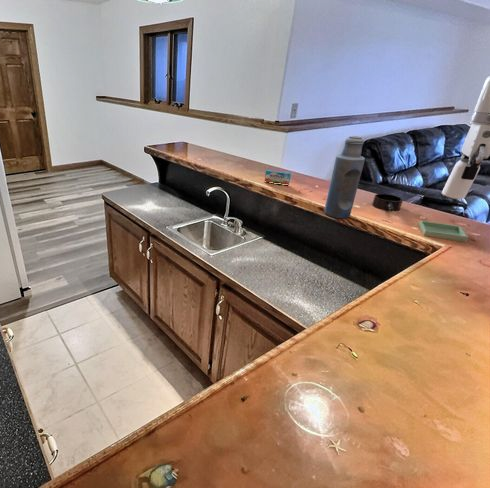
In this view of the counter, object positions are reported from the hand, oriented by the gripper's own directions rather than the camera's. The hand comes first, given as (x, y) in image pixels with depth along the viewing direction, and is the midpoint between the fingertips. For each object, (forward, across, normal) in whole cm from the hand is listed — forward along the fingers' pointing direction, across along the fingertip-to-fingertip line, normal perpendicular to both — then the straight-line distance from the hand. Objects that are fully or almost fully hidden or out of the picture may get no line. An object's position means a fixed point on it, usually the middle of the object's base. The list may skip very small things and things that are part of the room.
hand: (463, 175), depth 114 cm
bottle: (+21, +4, +34) cm, 40 cm away
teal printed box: (+21, +36, +62) cm, 75 cm away
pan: (+21, +19, +15) cm, 32 cm away
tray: (+21, 0, 0) cm, 21 cm away
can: (+7, 0, +1) cm, 7 cm away
